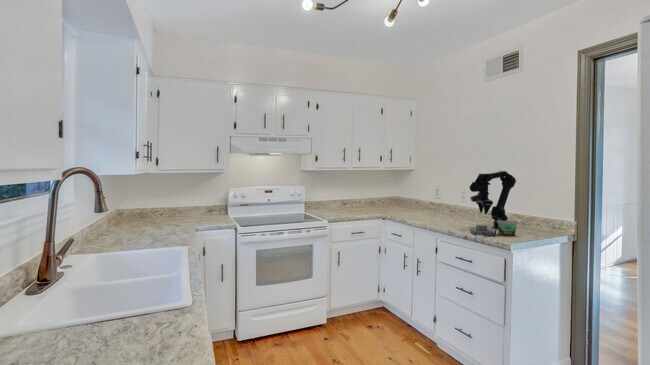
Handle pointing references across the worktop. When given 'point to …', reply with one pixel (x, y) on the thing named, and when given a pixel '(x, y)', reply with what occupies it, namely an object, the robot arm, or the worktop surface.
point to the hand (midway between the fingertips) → (483, 213)
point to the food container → (507, 227)
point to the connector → (481, 227)
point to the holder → (482, 232)
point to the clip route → (491, 235)
